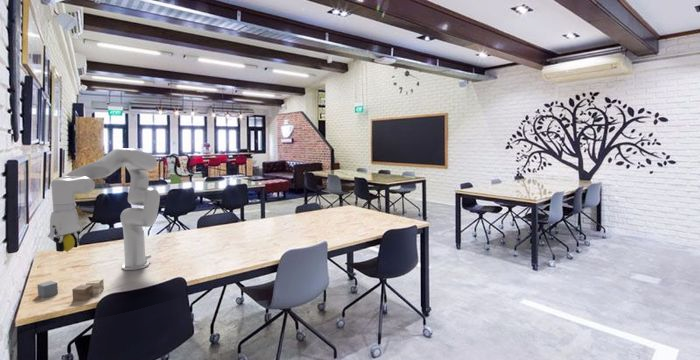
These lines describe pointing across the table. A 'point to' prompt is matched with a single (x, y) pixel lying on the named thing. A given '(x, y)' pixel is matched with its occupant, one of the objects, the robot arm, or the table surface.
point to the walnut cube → (82, 292)
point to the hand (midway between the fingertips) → (67, 248)
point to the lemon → (68, 242)
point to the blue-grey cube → (47, 289)
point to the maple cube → (96, 285)
